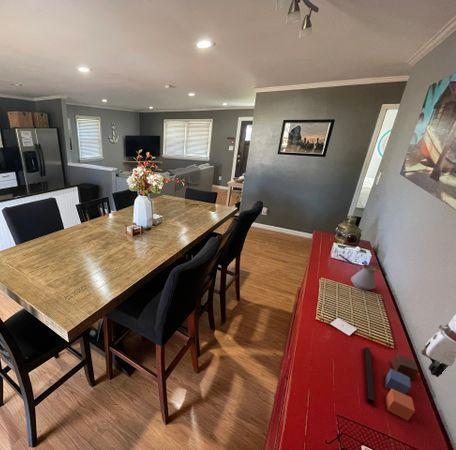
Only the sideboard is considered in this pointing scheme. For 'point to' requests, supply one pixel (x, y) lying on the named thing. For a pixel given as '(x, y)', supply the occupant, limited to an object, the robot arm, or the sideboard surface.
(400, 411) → the terracotta block
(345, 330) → the coaster
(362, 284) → the coffee pot
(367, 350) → the rail
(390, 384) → the slate blue block
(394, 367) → the walnut block
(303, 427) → the sideboard surface
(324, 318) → the sideboard surface
